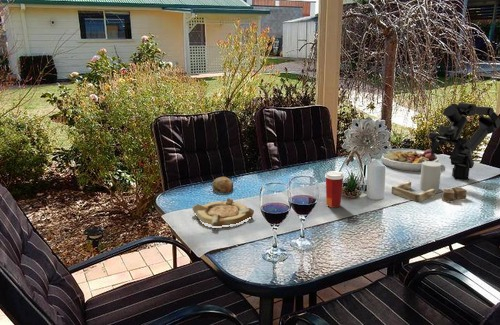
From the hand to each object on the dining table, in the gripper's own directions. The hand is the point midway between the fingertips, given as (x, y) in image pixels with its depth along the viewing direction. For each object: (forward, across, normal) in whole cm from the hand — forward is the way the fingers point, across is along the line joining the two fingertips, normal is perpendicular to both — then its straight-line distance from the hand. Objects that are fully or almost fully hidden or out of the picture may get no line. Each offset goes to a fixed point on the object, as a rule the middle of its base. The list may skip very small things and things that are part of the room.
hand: (440, 156), depth 195 cm
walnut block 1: (+19, +13, -1) cm, 23 cm away
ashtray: (+72, -28, -70) cm, 104 cm away
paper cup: (+45, -11, -36) cm, 59 cm away
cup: (+16, 0, +3) cm, 16 cm away
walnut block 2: (+15, +15, +3) cm, 21 cm away
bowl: (0, -30, +24) cm, 38 cm away
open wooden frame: (+22, +1, -6) cm, 23 cm away
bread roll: (+62, -56, -58) cm, 101 cm away
